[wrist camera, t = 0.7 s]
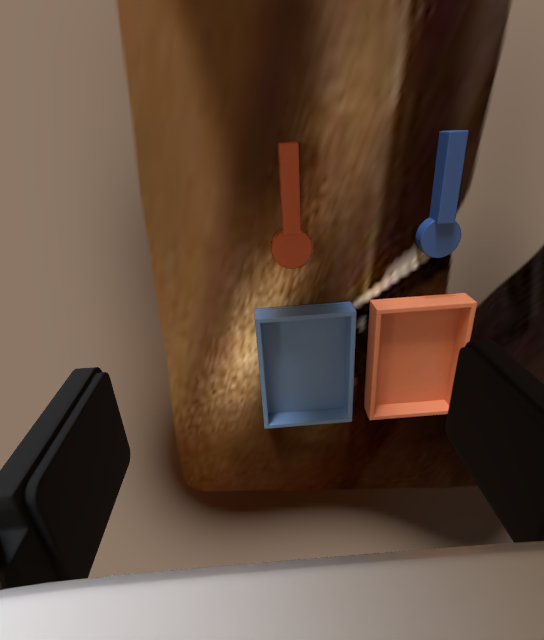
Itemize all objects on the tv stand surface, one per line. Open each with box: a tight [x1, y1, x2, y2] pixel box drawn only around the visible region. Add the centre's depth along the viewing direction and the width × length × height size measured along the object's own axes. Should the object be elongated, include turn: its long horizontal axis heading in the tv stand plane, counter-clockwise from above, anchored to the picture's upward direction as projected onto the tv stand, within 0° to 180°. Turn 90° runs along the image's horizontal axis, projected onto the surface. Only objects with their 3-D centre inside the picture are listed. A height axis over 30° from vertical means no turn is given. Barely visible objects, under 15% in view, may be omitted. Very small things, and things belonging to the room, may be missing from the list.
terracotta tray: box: [364, 293, 477, 420], centre depth 43 cm, size 14×10×2 cm
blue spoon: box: [416, 130, 468, 258], centre depth 36 cm, size 11×4×2 cm, turn 3°
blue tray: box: [255, 302, 356, 429], centre depth 43 cm, size 14×10×2 cm
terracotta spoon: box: [271, 141, 312, 269], centre depth 35 cm, size 11×4×2 cm, turn 3°
